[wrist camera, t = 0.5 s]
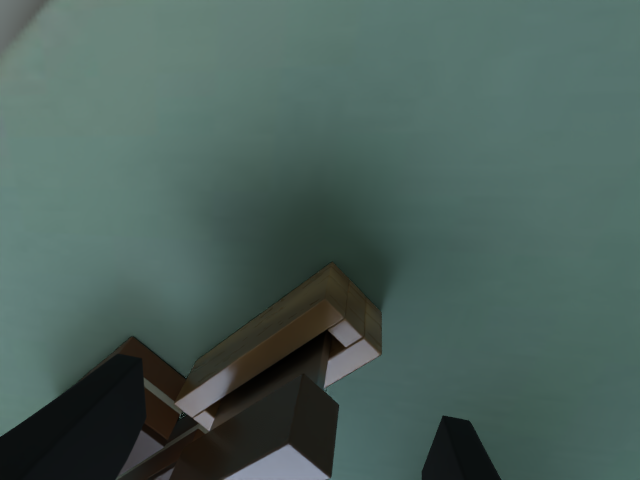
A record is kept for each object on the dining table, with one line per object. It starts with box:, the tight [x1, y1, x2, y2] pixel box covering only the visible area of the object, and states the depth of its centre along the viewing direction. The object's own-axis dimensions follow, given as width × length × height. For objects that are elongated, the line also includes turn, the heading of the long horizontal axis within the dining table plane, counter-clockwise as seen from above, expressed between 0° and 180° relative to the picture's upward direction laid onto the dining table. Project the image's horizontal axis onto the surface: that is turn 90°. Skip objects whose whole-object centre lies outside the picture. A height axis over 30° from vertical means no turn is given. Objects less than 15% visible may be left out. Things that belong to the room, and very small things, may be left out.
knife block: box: [174, 262, 382, 431], centre depth 21 cm, size 4×10×3 cm, turn 133°
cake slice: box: [73, 337, 186, 476], centre depth 24 cm, size 4×8×5 cm, turn 133°
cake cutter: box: [169, 329, 339, 480], centre depth 19 cm, size 2×7×8 cm, turn 133°
